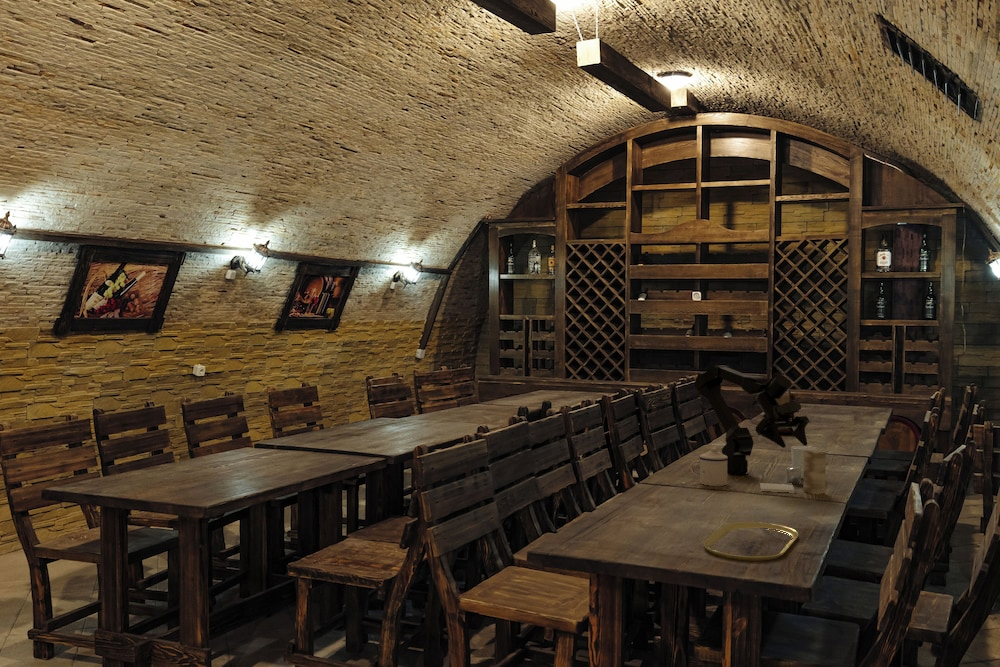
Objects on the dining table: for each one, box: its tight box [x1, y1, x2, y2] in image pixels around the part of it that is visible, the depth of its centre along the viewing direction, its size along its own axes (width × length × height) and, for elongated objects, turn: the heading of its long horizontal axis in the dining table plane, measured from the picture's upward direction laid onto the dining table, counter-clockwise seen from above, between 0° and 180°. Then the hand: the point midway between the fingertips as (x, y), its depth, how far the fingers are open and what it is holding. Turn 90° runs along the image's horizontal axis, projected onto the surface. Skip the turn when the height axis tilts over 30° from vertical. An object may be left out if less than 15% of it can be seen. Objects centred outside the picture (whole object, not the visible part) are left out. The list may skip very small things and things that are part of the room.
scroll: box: [777, 389, 796, 434], centre depth 416 cm, size 15×15×20 cm
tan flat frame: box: [703, 521, 800, 562], centre depth 223 cm, size 19×35×2 cm, turn 152°
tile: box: [759, 482, 796, 494], centre depth 288 cm, size 10×9×1 cm
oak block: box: [802, 449, 827, 495], centre depth 284 cm, size 4×4×13 cm
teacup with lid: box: [690, 447, 728, 487], centre depth 297 cm, size 12×9×12 cm
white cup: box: [790, 445, 817, 479], centre depth 310 cm, size 8×8×10 cm
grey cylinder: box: [786, 466, 802, 485], centre depth 299 cm, size 4×4×5 cm
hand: (795, 446), depth 291 cm, fingers open, 9 cm apart
